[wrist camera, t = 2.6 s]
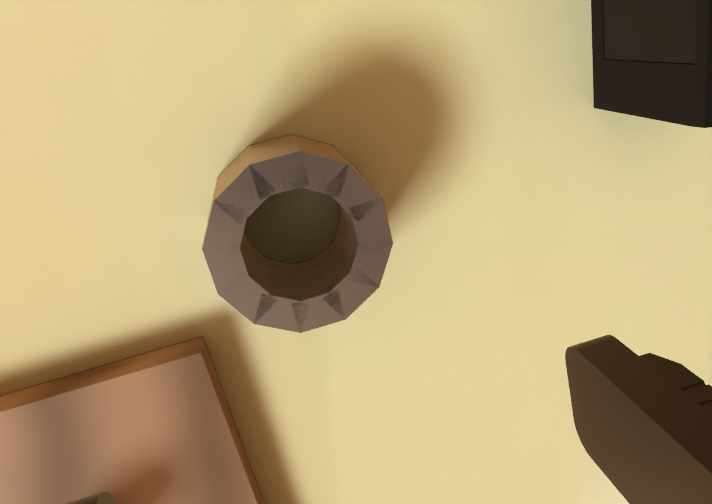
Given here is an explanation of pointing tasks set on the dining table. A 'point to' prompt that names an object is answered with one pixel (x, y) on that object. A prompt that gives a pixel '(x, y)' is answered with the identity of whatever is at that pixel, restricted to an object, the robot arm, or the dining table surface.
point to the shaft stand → (127, 435)
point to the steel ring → (307, 278)
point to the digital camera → (654, 59)
